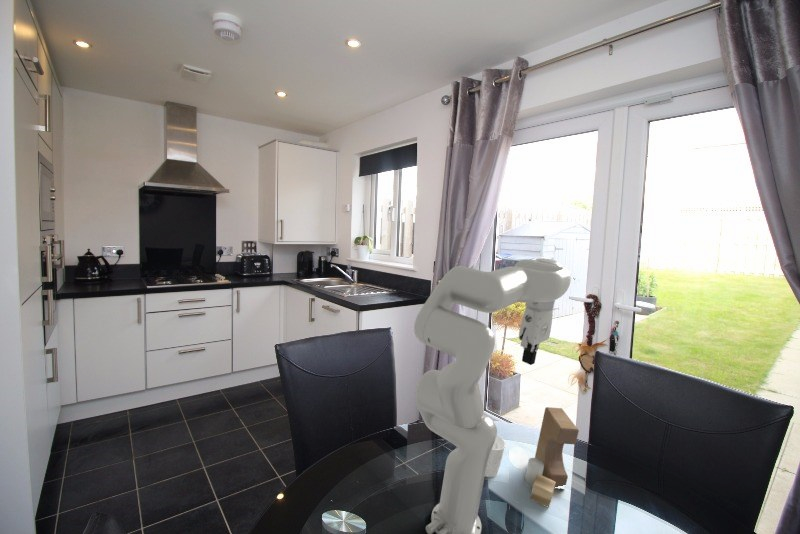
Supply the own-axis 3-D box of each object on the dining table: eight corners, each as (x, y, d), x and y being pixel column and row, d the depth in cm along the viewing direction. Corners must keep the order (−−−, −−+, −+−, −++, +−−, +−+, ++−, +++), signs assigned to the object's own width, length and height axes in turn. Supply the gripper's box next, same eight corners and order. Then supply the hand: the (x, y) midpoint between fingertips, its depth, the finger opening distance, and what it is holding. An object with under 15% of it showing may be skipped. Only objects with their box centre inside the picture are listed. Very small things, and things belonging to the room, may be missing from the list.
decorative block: (565, 490, 114) (579, 430, 110) (546, 489, 114) (560, 428, 110) (550, 463, 125) (563, 407, 121) (533, 462, 125) (544, 406, 120)
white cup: (468, 462, 121) (473, 434, 119) (489, 458, 124) (494, 430, 122) (483, 481, 114) (488, 451, 112) (505, 476, 117) (510, 447, 115)
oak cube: (548, 508, 107) (552, 492, 106) (530, 498, 110) (533, 483, 109) (552, 496, 111) (555, 481, 110) (534, 488, 114) (537, 473, 113)
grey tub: (535, 488, 114) (539, 470, 112) (522, 479, 117) (525, 461, 116) (543, 481, 117) (546, 464, 115) (529, 472, 120) (533, 455, 119)
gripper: (538, 310, 102) (526, 374, 106) (564, 303, 112) (552, 361, 117) (513, 302, 108) (502, 363, 112) (540, 295, 118) (529, 352, 122)
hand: (528, 362), depth 114 cm, fingers closed
